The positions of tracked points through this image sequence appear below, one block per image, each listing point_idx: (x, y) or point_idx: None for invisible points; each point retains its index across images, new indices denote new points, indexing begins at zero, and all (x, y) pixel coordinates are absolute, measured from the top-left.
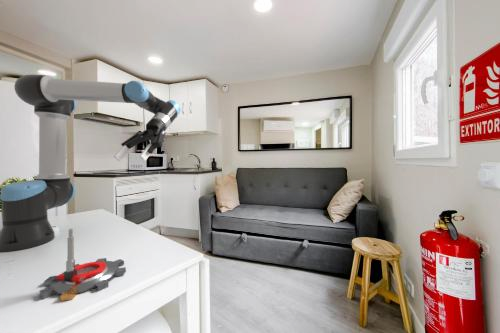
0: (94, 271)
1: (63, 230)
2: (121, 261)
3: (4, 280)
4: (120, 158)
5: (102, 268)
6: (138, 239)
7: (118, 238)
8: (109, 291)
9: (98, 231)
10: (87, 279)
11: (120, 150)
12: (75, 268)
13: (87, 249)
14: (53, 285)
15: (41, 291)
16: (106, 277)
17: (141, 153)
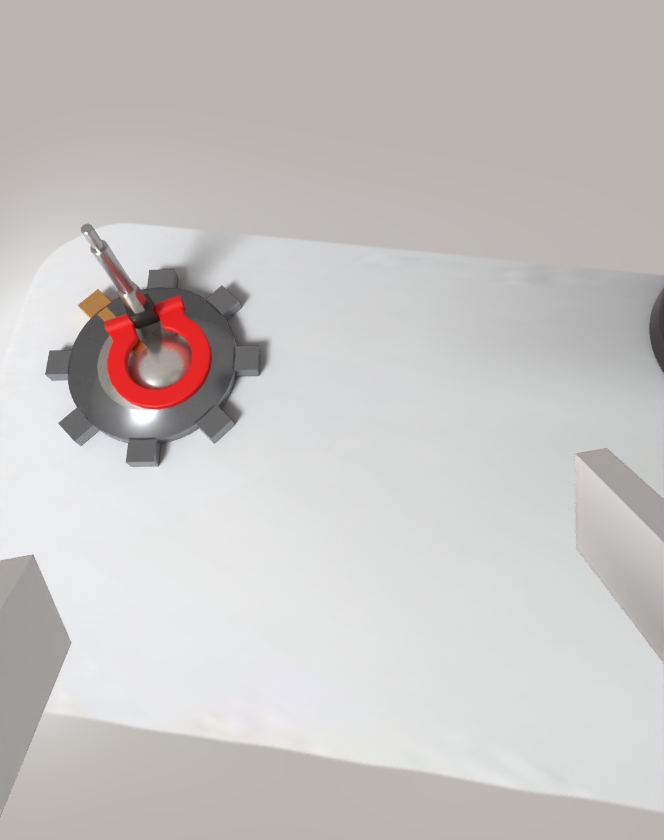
0: (113, 362)
1: None
2: (129, 454)
3: (368, 246)
4: (594, 552)
5: (113, 384)
6: (326, 647)
7: (439, 597)
8: (27, 372)
9: None
10: None
11: (661, 534)
12: (193, 339)
13: (415, 453)
14: (171, 293)
15: (166, 270)
16: (73, 381)
17: (8, 590)
